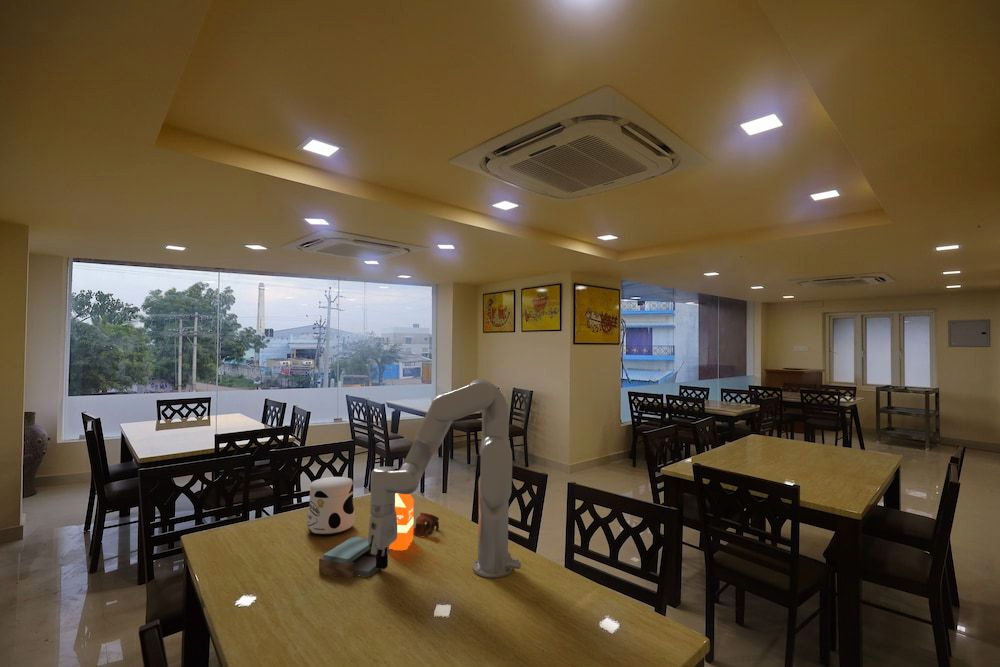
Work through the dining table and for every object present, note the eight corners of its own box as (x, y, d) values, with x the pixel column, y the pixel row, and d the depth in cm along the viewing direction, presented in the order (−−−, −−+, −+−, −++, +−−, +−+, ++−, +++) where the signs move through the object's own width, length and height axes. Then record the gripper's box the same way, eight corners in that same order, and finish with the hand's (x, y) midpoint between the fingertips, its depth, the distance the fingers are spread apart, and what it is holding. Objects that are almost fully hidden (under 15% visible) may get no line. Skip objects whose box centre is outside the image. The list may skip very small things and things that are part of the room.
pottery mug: (407, 533, 179) (414, 511, 183) (428, 540, 183) (435, 518, 186) (420, 535, 169) (428, 511, 173) (442, 542, 173) (449, 519, 177)
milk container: (295, 535, 174) (297, 486, 174) (326, 519, 191) (327, 474, 191) (336, 541, 169) (337, 491, 169) (363, 524, 185) (364, 478, 186)
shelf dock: (378, 557, 157) (378, 540, 157) (350, 578, 142) (351, 559, 142) (348, 552, 160) (349, 535, 160) (318, 572, 146) (319, 553, 146)
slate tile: (383, 566, 152) (384, 558, 152) (368, 579, 143) (368, 571, 143) (346, 560, 156) (346, 552, 156) (328, 572, 147) (329, 564, 147)
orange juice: (413, 540, 171) (414, 484, 172) (406, 550, 162) (407, 491, 163) (392, 539, 172) (393, 483, 172) (384, 549, 163) (385, 490, 164)
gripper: (380, 517, 140) (379, 580, 139) (405, 501, 154) (404, 559, 154) (358, 514, 142) (357, 576, 142) (385, 499, 156) (384, 555, 156)
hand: (381, 567), depth 148 cm, fingers closed
